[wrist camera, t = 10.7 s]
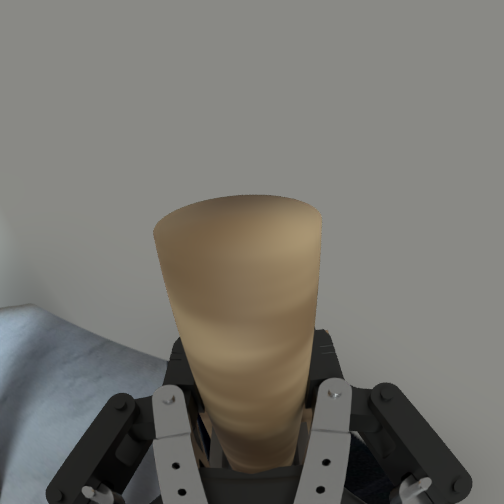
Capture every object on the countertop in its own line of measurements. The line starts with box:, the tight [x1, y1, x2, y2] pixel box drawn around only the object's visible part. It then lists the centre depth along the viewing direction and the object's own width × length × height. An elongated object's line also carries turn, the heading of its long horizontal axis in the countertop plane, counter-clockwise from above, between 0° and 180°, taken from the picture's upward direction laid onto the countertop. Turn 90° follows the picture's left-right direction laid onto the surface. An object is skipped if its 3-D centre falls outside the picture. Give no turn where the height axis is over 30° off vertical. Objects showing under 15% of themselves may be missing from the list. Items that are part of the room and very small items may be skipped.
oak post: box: [153, 195, 322, 474], centre depth 11 cm, size 4×4×16 cm
